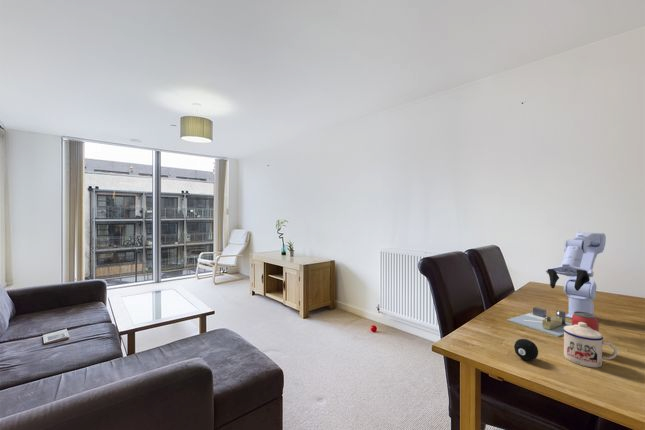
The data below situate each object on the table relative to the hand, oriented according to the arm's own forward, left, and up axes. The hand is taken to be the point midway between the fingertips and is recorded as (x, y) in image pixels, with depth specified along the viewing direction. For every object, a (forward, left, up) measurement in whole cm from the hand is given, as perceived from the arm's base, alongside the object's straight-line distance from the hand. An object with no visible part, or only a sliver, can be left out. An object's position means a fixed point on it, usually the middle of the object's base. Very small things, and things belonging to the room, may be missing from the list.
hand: (563, 287), depth 109 cm
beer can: (+13, +11, -17) cm, 24 cm away
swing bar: (+1, -3, -16) cm, 16 cm away
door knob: (-6, -3, -17) cm, 18 cm away
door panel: (-1, -7, -17) cm, 18 cm away
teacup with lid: (+22, +15, -17) cm, 32 cm away
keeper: (-9, -12, -17) cm, 23 cm away
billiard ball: (+37, +5, -17) cm, 41 cm away
